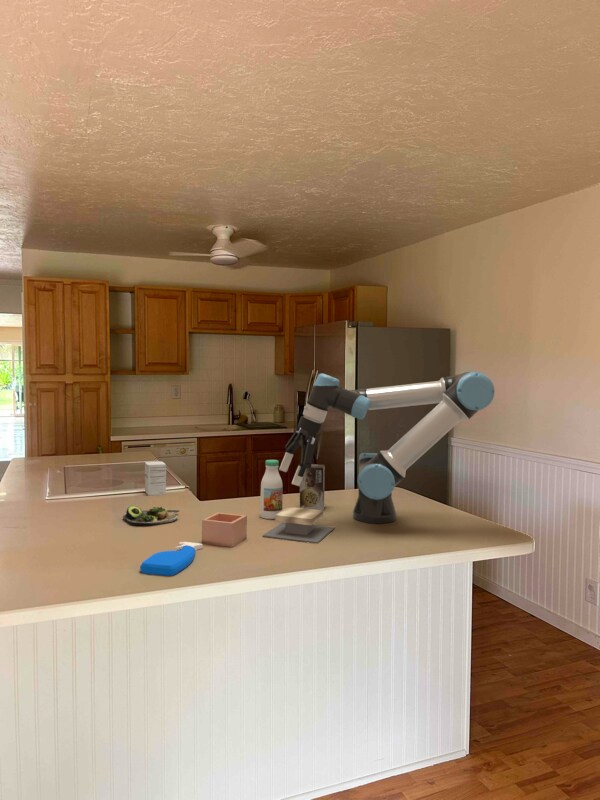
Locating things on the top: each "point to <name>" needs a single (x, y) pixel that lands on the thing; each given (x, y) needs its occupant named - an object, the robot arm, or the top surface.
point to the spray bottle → (170, 560)
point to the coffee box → (312, 488)
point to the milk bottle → (271, 491)
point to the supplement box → (155, 478)
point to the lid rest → (299, 532)
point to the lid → (299, 516)
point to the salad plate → (149, 516)
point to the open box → (224, 529)
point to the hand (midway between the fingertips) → (288, 477)
